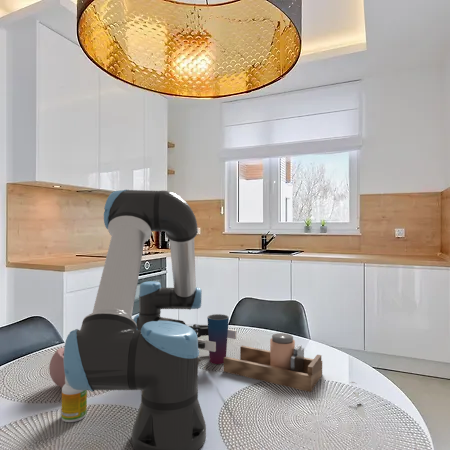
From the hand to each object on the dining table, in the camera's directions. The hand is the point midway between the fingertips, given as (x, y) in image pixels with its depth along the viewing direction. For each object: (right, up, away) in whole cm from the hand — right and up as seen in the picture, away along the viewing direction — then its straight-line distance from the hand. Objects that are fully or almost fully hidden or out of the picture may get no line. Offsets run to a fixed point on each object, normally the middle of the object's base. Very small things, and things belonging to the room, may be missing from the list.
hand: (226, 340), depth 112 cm
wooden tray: (+14, -8, -8) cm, 17 cm away
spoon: (+33, -9, -23) cm, 41 cm away
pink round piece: (-42, -8, -15) cm, 45 cm away
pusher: (+20, -7, -11) cm, 24 cm away
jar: (+16, -7, -9) cm, 20 cm away
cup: (-3, -8, +1) cm, 9 cm away
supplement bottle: (-35, -8, -30) cm, 47 cm away
